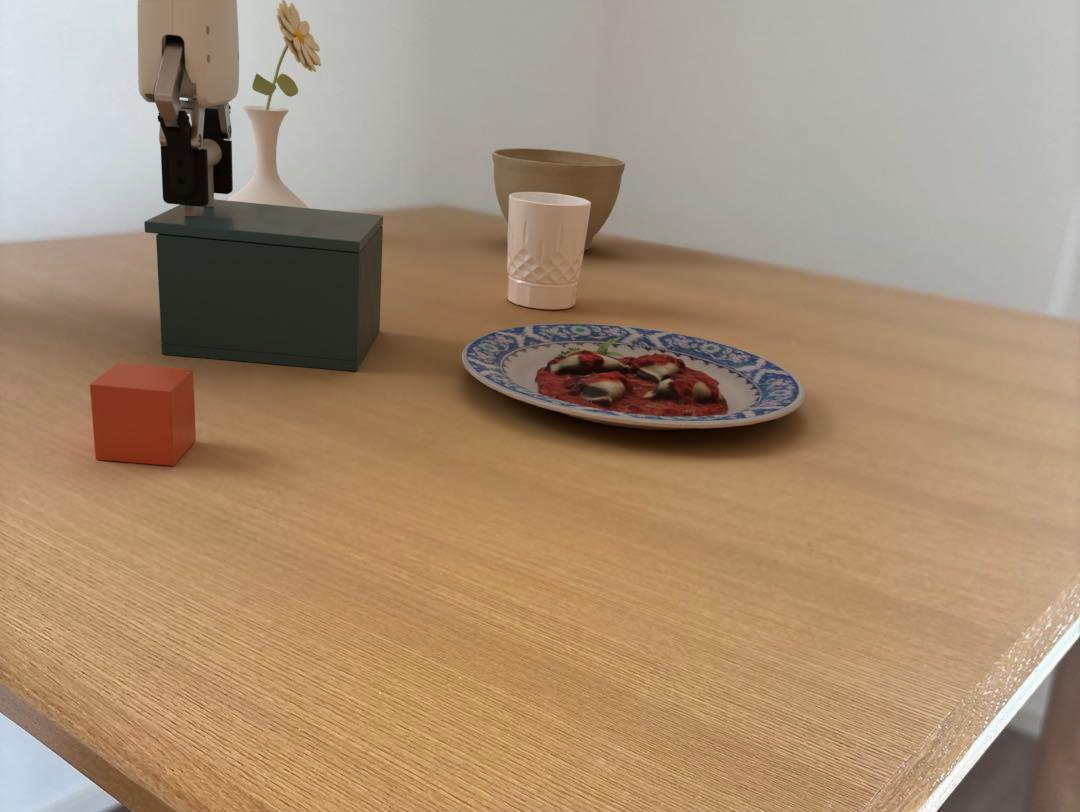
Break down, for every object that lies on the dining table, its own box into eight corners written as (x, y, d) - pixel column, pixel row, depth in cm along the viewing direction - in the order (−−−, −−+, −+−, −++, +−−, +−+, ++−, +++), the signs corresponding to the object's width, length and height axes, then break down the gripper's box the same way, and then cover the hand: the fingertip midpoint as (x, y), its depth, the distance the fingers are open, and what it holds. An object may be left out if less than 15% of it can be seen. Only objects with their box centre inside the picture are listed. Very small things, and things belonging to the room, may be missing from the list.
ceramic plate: (857, 460, 77) (866, 418, 76) (481, 449, 72) (484, 404, 71) (736, 355, 100) (742, 322, 99) (445, 342, 95) (447, 306, 94)
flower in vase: (266, 246, 125) (263, -3, 115) (195, 229, 131) (186, -11, 120) (346, 235, 135) (350, 6, 125) (277, 220, 141) (276, -1, 130)
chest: (161, 354, 85) (155, 234, 81) (208, 315, 96) (204, 209, 92) (356, 371, 85) (359, 253, 81) (379, 330, 96) (382, 225, 93)
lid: (144, 232, 81) (139, 147, 78) (194, 207, 92) (192, 132, 90) (359, 252, 81) (361, 168, 79) (383, 225, 93) (385, 151, 90)
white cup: (565, 316, 108) (575, 208, 103) (489, 303, 110) (496, 196, 106) (590, 301, 114) (601, 199, 110) (518, 289, 117) (526, 189, 112)
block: (95, 459, 65) (89, 384, 63) (122, 434, 69) (117, 362, 67) (173, 466, 65) (170, 391, 63) (196, 440, 69) (193, 369, 67)
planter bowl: (553, 231, 152) (561, 146, 147) (641, 255, 141) (652, 164, 137) (460, 237, 141) (465, 146, 137) (547, 263, 131) (556, 165, 126)
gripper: (174, -65, 86) (183, 179, 94) (90, -86, 71) (109, 210, 78) (272, -55, 87) (274, 188, 94) (210, -74, 71) (218, 220, 78)
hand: (199, 195), depth 86 cm, fingers closed on lid, 6 cm apart
